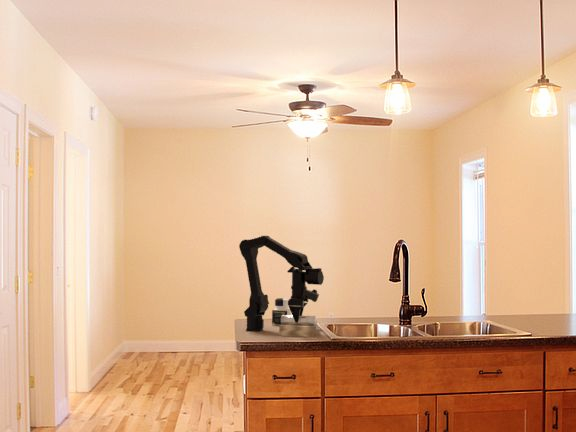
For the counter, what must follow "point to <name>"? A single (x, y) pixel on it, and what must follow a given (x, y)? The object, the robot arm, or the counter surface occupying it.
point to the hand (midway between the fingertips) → (298, 321)
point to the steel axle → (301, 321)
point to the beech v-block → (297, 330)
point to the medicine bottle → (280, 310)
